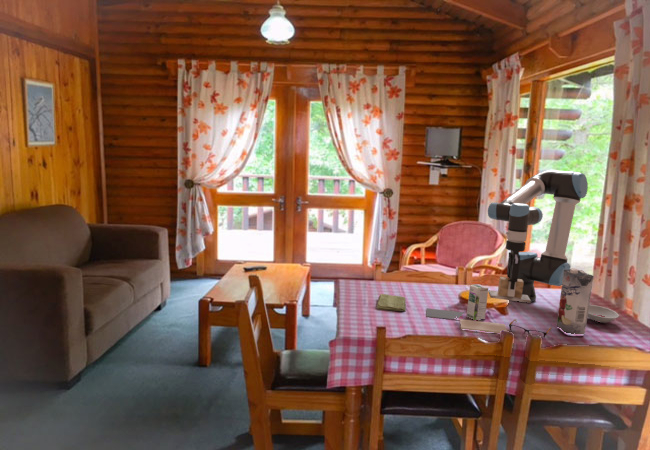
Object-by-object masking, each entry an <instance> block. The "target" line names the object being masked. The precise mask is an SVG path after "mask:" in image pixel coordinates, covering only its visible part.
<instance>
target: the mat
mask: <svg viewBox="0 0 650 450" xmlns="http://www.w3.org/2000/svg"><path fill="white" fill-rule="evenodd" d="M425 314H426V315H425V316H426V317H425V318H432V317H434V319H435V318H436V319H441V318H444V319H443V320H450V319H454V318H456V316H457V318H459V317H460V316H462V314H464V311H463V312H462V311H455V310H454V311H453V310H447V309H446V310H445V309H436V308H426V313H425ZM457 318H456V319H457Z"/></svg>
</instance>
